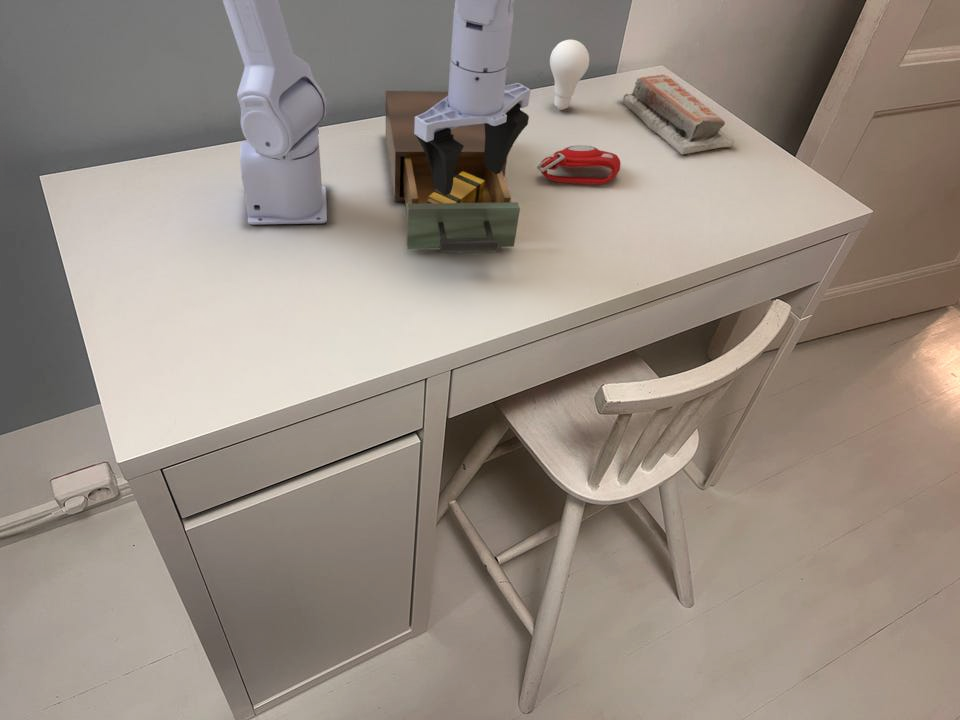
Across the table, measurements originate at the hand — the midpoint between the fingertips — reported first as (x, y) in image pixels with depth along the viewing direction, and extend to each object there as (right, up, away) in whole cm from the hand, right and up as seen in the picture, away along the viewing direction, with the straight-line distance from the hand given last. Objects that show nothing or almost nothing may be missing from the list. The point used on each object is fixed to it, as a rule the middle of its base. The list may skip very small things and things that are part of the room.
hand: (467, 179), depth 82 cm
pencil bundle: (-2, -1, +10) cm, 11 cm away
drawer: (-2, -3, +10) cm, 11 cm away
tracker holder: (+15, +7, +24) cm, 29 cm away
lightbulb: (+15, +21, +37) cm, 45 cm away
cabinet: (-4, +7, +21) cm, 22 cm away
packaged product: (+33, +18, +37) cm, 53 cm away
